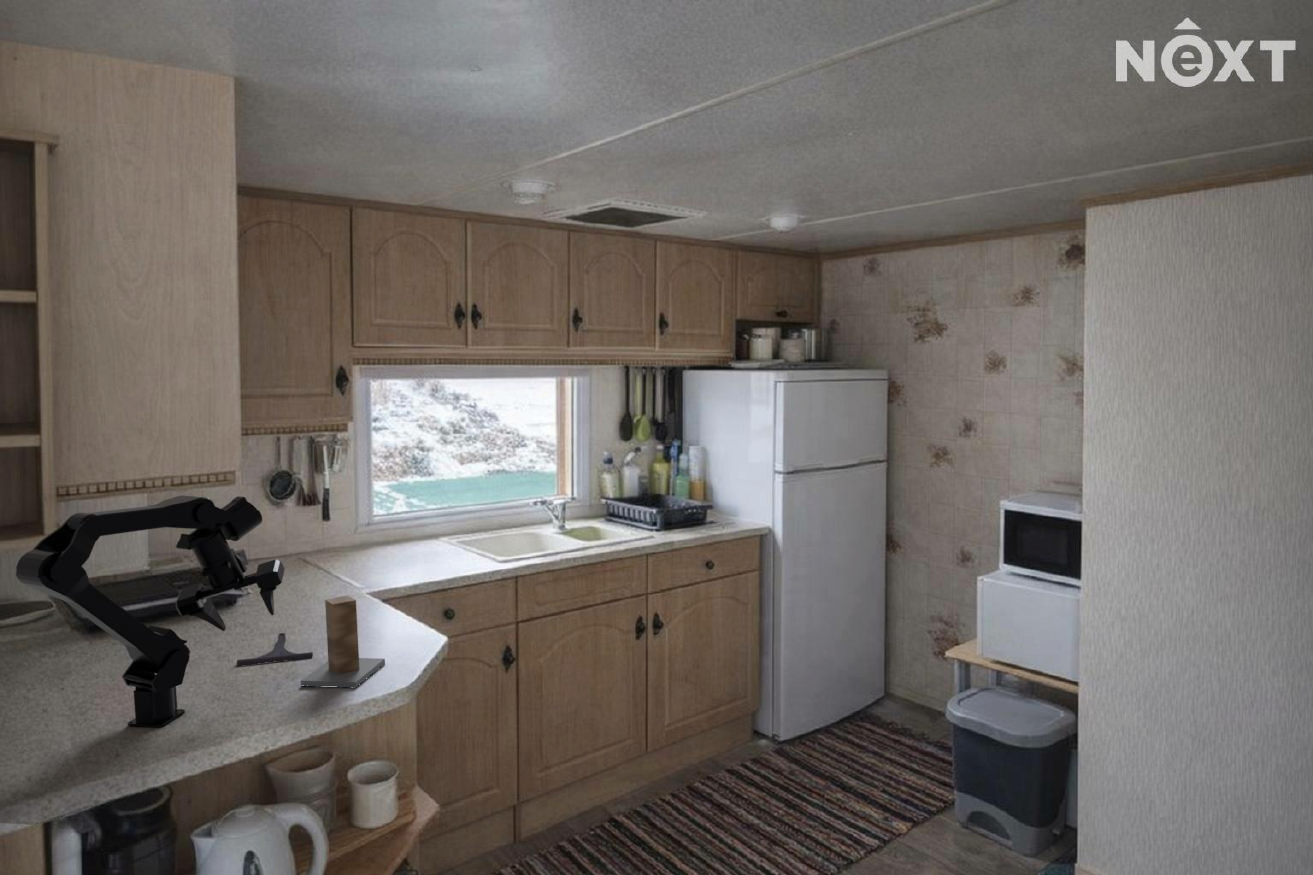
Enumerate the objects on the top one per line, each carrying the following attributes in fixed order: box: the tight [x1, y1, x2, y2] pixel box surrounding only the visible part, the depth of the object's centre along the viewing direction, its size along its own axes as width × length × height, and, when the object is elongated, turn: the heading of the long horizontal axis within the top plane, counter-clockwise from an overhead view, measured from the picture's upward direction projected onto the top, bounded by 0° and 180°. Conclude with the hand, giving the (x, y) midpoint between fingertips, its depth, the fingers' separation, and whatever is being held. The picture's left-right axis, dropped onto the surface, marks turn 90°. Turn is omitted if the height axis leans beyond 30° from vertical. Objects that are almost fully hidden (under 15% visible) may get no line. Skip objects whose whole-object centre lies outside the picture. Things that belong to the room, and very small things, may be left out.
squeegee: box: [236, 632, 314, 667], centre depth 187 cm, size 14×15×3 cm
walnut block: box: [324, 595, 360, 675], centre depth 171 cm, size 4×4×14 cm
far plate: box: [300, 657, 386, 689], centre depth 172 cm, size 13×11×1 cm
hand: (249, 621), depth 168 cm, fingers open, 9 cm apart
